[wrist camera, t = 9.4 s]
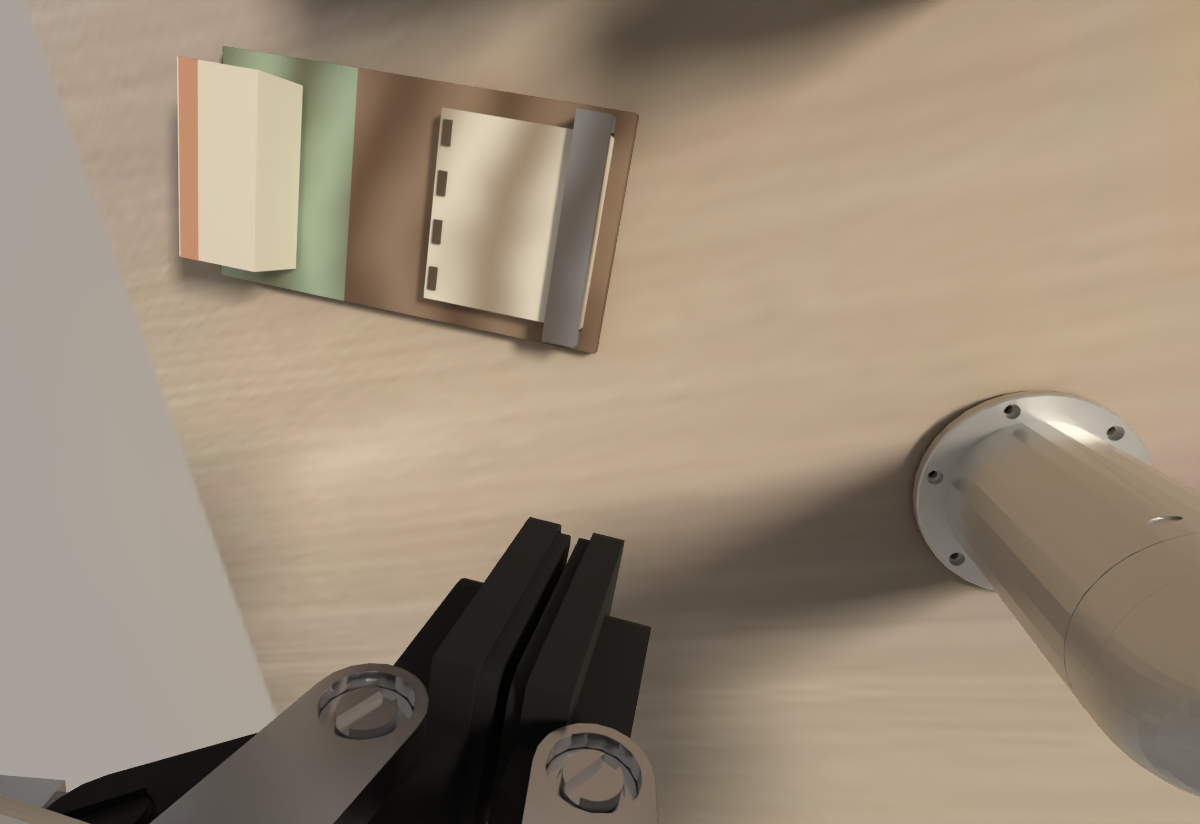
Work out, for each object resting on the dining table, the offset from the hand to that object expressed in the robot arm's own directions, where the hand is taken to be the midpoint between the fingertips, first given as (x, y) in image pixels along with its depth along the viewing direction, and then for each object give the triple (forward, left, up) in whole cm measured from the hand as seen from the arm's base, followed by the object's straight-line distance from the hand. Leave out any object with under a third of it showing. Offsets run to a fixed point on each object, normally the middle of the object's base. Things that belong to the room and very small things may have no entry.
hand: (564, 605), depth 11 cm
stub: (+28, -5, -30) cm, 41 cm away
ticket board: (+18, -5, -31) cm, 36 cm away
